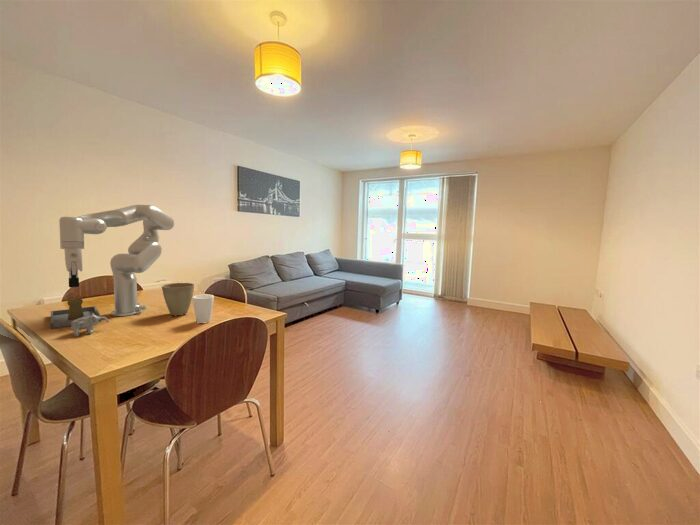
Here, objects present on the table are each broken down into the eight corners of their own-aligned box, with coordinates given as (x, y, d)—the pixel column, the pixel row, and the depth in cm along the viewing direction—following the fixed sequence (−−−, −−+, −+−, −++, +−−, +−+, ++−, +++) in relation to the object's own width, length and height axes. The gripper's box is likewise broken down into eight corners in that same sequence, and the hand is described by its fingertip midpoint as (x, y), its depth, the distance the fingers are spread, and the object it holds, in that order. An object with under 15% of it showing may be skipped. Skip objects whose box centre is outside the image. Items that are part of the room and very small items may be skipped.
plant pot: (199, 310, 162) (199, 283, 160) (185, 318, 147) (185, 288, 146) (172, 309, 162) (172, 282, 160) (155, 317, 147) (155, 287, 145)
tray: (100, 321, 137) (100, 316, 137) (50, 328, 126) (50, 323, 125) (95, 310, 154) (95, 306, 153) (51, 316, 142) (50, 311, 141)
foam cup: (217, 320, 147) (217, 296, 145) (201, 325, 138) (201, 299, 137) (205, 317, 150) (204, 293, 149) (188, 322, 142) (188, 296, 141)
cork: (74, 319, 138) (73, 296, 137) (88, 319, 139) (87, 297, 138) (63, 323, 132) (62, 299, 131) (77, 323, 133) (76, 300, 132)
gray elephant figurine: (67, 334, 121) (64, 317, 120) (101, 325, 132) (99, 309, 130) (78, 339, 117) (76, 321, 116) (112, 329, 128) (110, 312, 127)
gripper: (85, 246, 123) (86, 288, 124) (82, 244, 133) (84, 283, 134) (60, 246, 117) (62, 290, 119) (59, 244, 127) (61, 285, 129)
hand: (74, 286), depth 127 cm, fingers closed
